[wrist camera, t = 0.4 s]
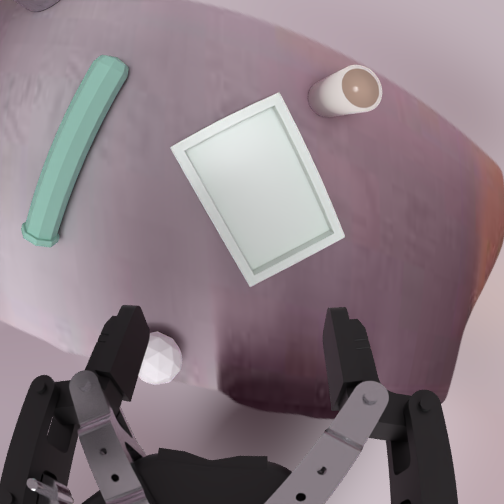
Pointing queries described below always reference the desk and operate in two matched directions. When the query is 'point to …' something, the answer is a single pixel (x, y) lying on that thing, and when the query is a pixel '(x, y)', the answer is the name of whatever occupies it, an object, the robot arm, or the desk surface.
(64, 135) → the green faceted rod
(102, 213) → the desk surface
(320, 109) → the cup
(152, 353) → the geometric ball
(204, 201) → the tray
